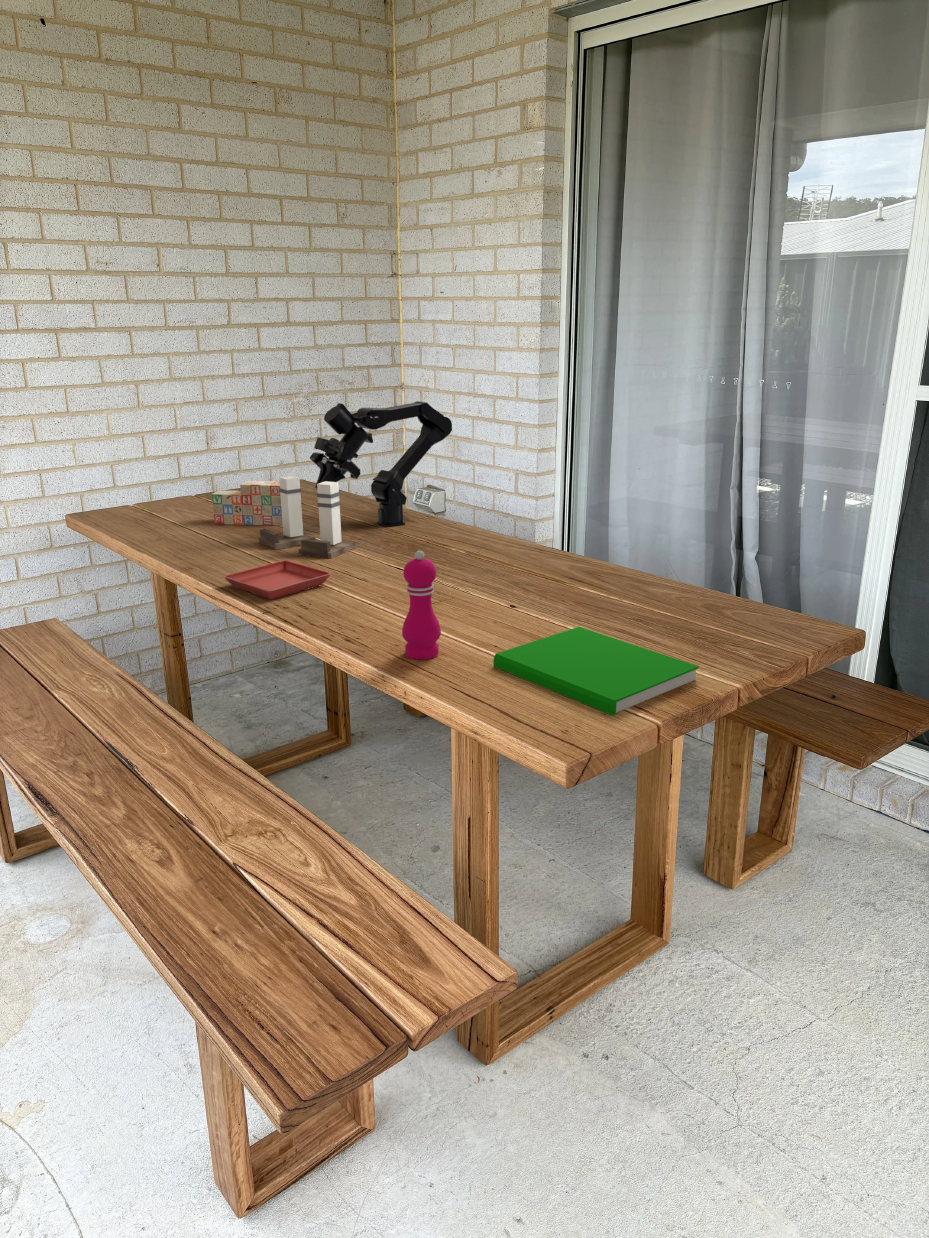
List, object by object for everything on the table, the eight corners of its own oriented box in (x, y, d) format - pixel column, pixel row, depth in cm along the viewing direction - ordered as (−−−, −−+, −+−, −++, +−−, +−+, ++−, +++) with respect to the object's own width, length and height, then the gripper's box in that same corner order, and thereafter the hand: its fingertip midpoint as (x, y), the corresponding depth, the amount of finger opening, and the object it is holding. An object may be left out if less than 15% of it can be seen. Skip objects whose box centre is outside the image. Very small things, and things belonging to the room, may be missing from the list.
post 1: (296, 532, 261) (292, 475, 256) (304, 535, 258) (300, 477, 253) (282, 534, 259) (278, 477, 254) (290, 537, 256) (286, 479, 250)
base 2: (323, 544, 256) (323, 530, 255) (355, 547, 252) (354, 533, 251) (298, 554, 246) (297, 539, 244) (331, 558, 242) (330, 543, 240)
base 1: (297, 536, 265) (296, 522, 264) (315, 542, 258) (314, 528, 256) (259, 543, 258) (258, 528, 257) (276, 549, 251) (275, 535, 249)
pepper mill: (402, 647, 179) (399, 546, 172) (440, 646, 179) (438, 545, 173) (403, 661, 172) (399, 556, 165) (442, 660, 172) (440, 555, 166)
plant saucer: (270, 604, 207) (268, 590, 206) (223, 588, 218) (222, 575, 217) (333, 586, 219) (332, 572, 218) (286, 572, 231) (285, 559, 230)
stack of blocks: (213, 524, 281) (209, 484, 277) (221, 520, 287) (217, 480, 283) (283, 525, 278) (279, 484, 274) (289, 521, 284) (286, 481, 280)
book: (578, 641, 183) (579, 626, 182) (697, 682, 162) (699, 666, 161) (493, 669, 169) (493, 654, 168) (612, 718, 149) (612, 701, 148)
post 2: (328, 540, 252) (325, 481, 247) (342, 541, 251) (339, 482, 246) (319, 543, 249) (316, 484, 244) (333, 545, 247) (330, 485, 242)
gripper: (313, 423, 265) (281, 466, 261) (349, 429, 251) (315, 475, 248) (338, 448, 272) (308, 491, 269) (374, 456, 258) (342, 500, 255)
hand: (317, 489), depth 260 cm, fingers closed
